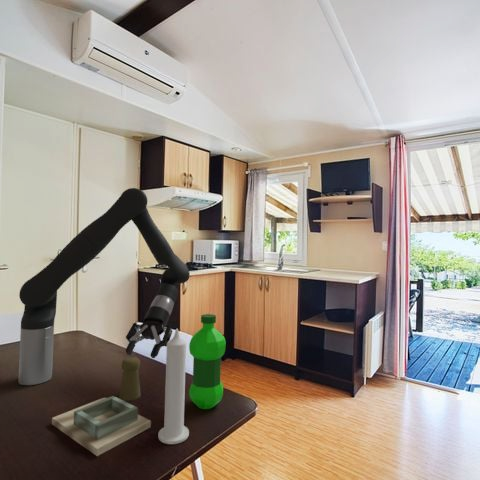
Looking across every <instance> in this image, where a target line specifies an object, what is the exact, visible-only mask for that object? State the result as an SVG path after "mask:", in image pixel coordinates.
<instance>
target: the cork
mask: <svg viewBox="0 0 480 480" xmlns="http://www.w3.org/2000/svg"><path fill="white" fill-rule="evenodd" d="M140 368H141V360H140V358H138V357H135V356H129V357H126V358H124V359H123V360H122V362H121V369H122V370H123V372H122V379H121V384H120V390H119V396H118V398H119V399H121V400H123V401H125V402H128V401H134V400H137V399H138V398H141V395H142V394H141V385H140V384H141V383H140V377H139V376H140V375H139V369H140Z"/></svg>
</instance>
